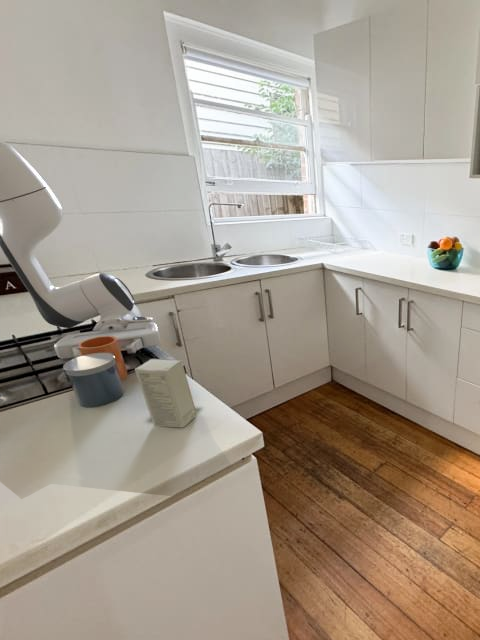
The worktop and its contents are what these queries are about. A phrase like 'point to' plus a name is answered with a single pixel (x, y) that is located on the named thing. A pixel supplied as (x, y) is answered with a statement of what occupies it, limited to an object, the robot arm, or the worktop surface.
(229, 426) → the worktop surface
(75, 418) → the worktop surface
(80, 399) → the jar
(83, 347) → the cup
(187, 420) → the cosmetic box
